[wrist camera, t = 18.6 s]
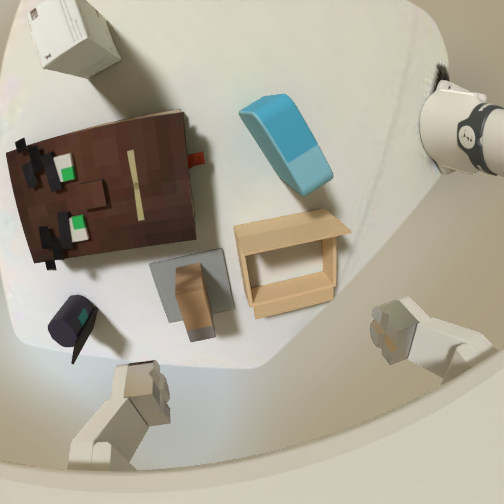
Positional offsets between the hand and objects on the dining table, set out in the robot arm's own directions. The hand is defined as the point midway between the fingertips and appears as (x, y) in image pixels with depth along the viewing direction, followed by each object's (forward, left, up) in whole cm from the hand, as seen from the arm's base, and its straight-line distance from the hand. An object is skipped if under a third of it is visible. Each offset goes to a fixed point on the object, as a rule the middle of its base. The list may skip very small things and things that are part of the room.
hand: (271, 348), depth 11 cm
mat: (+6, +20, -37) cm, 43 cm away
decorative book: (+15, -1, -38) cm, 41 cm away
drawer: (-10, +18, -37) cm, 43 cm away
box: (+6, +20, -37) cm, 42 cm away
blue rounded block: (-10, -2, -37) cm, 39 cm away
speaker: (+28, +20, -37) cm, 51 cm away
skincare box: (+13, -21, -37) cm, 45 cm away
